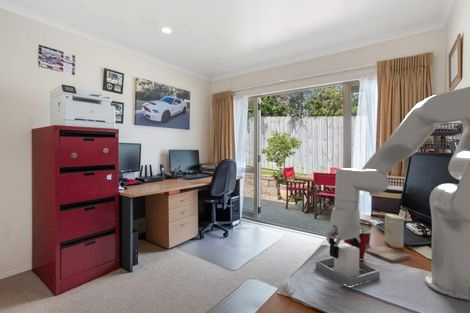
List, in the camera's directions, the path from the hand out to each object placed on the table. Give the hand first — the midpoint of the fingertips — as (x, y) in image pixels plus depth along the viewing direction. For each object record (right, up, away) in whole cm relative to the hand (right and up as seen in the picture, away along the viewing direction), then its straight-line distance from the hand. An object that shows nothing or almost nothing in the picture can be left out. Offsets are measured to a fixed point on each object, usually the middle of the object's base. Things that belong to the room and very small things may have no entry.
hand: (344, 254), depth 82 cm
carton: (+1, -6, 0) cm, 6 cm away
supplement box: (+34, -7, +27) cm, 44 cm away
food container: (+20, -6, +31) cm, 38 cm away
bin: (+1, -6, 0) cm, 6 cm away
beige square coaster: (+24, -6, +15) cm, 29 cm away
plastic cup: (+10, -6, +12) cm, 17 cm away
